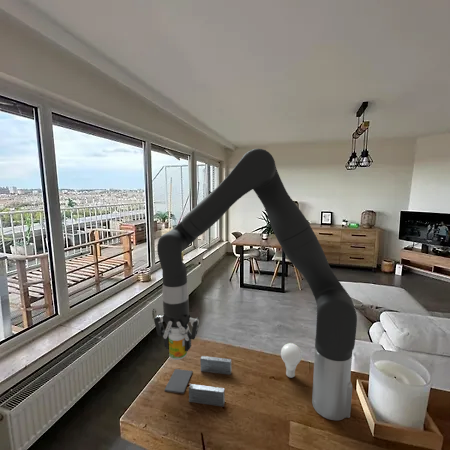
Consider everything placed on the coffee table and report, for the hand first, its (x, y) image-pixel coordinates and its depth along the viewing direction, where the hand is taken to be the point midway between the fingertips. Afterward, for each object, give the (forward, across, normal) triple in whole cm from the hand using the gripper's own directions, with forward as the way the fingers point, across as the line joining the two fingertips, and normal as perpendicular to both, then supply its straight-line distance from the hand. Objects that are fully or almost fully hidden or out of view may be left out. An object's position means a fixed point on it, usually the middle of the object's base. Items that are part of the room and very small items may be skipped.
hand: (177, 348), depth 82 cm
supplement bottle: (+2, 0, 0) cm, 2 cm away
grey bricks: (+11, -10, 0) cm, 15 cm away
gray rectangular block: (+11, 0, 0) cm, 11 cm away
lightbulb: (+11, -34, -8) cm, 37 cm away
